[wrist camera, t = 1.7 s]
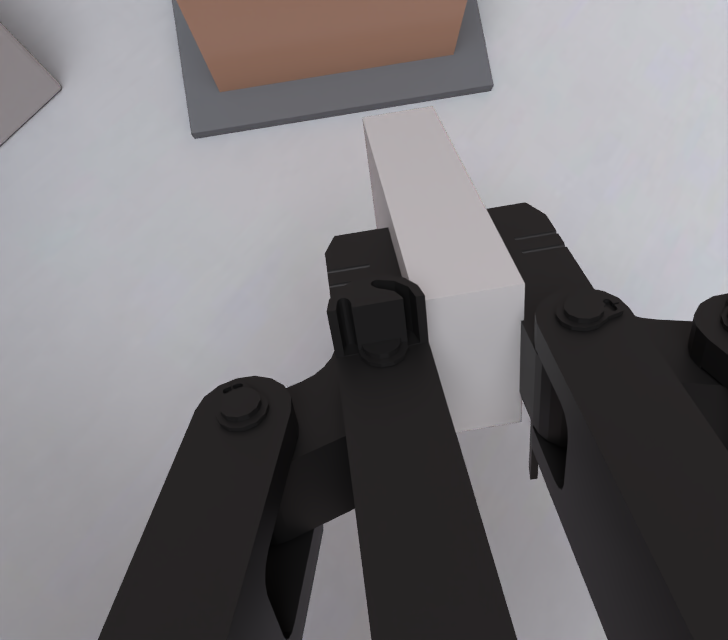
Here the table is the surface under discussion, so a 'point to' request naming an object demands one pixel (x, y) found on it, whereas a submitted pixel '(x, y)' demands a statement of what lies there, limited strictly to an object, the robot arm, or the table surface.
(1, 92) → the soap bottle
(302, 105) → the mat
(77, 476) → the table surface
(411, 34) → the tile
